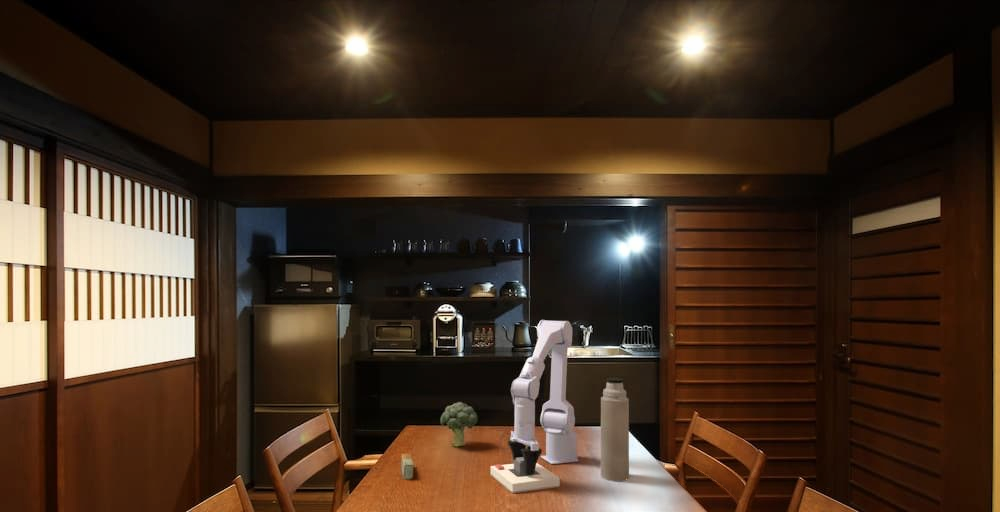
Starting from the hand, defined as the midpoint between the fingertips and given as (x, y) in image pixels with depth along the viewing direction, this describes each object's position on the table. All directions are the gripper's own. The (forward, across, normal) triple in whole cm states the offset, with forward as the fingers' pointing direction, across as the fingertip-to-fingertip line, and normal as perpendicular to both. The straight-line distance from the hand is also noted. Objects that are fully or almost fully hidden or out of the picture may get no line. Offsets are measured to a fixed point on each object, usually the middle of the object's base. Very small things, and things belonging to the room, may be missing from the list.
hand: (524, 470), depth 159 cm
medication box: (+3, -18, -29) cm, 34 cm away
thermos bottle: (+3, +6, +26) cm, 27 cm away
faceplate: (+3, 0, 0) cm, 3 cm away
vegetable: (+3, -40, -6) cm, 41 cm away
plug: (+2, 0, 0) cm, 2 cm away
